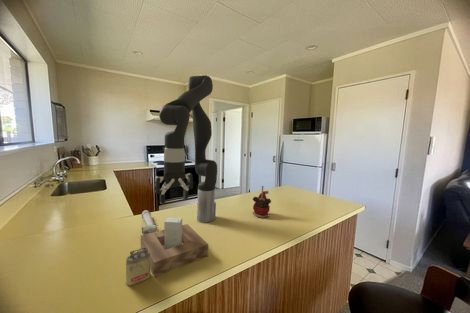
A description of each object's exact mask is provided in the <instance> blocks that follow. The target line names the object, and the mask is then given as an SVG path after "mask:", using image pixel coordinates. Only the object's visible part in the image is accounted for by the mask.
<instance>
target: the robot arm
mask: <svg viewBox="0 0 470 313" xmlns="http://www.w3.org/2000/svg"><path fill="white" fill-rule="evenodd" d="M187 84H188V85H187V86H188V90H187V91H184V92H183V93H182V94H180V95H179V96H178V97H177V99H176V98H175V100H172V101H170V102H167V103H165V104H164V105H163V106H162V107H161V108H160V111H159V115H158V116H159V117H158V118H159V120H160V122H161V123H162V124H164V125H167V126H176V127H175V129H174V130H171V131H167V132H165V135H164V152H163V176H158V175H156V176H155V177H154V187H153V191H154V193H155V194H157V195H159V202H160V203H161V204H162V205H165V204H166V194H165V193H166V192H167V191H168V190H169V189H170V188H175V187H182V189H183V191H182V198H183V200H184V201H187V200H188V198H189V190H192V189H193V188H194V182H193V180H194V178H193V174H192V173H190V172H188V173H185V172H186V171H185V168H186V167H185V166H186V154H185V153H186V151H185V139H186V138H185V137H186V133H187V130H188V125H189V123H190V116H191V115H190V113H191V114H192V127H193V138H194V153H195V154H194V169H195V170H194V171H195V173H196V174H197V176H200V177H204V181H201V182H199V183H198V185H197V203H196V204H197V210H196V220H197V221H198V222H200V223H211V222H213V221H214V220H216V213H217V212H216V210H217V208H216V206H217V202H216V201H215V198H216V197H215V196H216V195H215V194H216V185H217V177H218V163H217V162H216V161H215V160H212V159H207V158H206V152H207V151H206V150H207V148H208V145H209V143H210V141H211V138H212V134H213V133H212V131H213V130H212V122H211V119H210V118H209V116H208V114H207V113H206V112H205V110H204V109H203V107H202V104H201V101H203V100H204V99H206V97H208V96H209V95H211V93H212V92H213V91H214V90H213V86H214V84H213V80H212V78H211V77H210V76H209V75H203V74H202V75H192V76H189V78H188V82H187ZM184 180H187V184H186V183H185V181H184ZM163 181H164V183H163V184H162V186H161V183H162V182H163Z"/></svg>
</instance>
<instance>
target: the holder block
mask: <svg viewBox="0 0 470 313" xmlns="http://www.w3.org/2000/svg"><path fill="white" fill-rule="evenodd" d="M182 243H183V245H179V246H176V247H173V248H170V249H167V250H164V248H163V246H162V245H164V229H162V230H157V232H153V233H149V234H145V235H143V234H141V235H140V249H142V248H144V247H145V246H146V249H148V251H149V252H150V273H151V275H152V276H153V277H154V278H155V277H156V276H160V275H163V274H165V273H168V272H170V271H174V270H176V269H178V268H181V267H183V266H186V265H188V264H192V263H194V262H197V261H200V260H202V259H204V258H208V257H209V243H208V242H207V241H206V240H204V238H203V237H201V235H200V234H198V232H197V231H195V230H194V229H193V228H192V227H191V226H190V225H189V224H187V223H186V224H182ZM142 250H144V249H142ZM142 250H141V251H142Z"/></svg>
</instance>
